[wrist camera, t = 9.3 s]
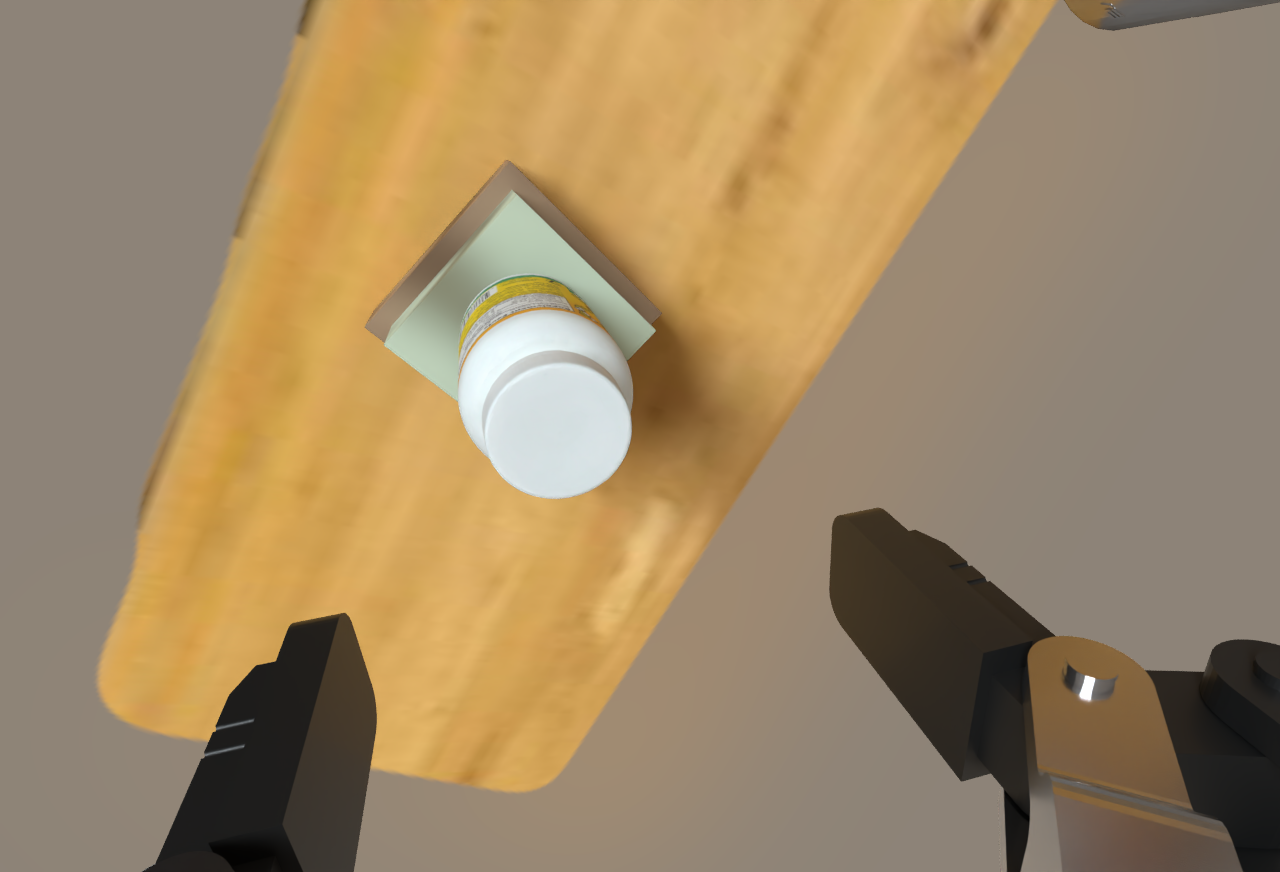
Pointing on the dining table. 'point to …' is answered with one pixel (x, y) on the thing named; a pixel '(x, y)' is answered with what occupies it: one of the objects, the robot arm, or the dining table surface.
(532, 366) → the supplement bottle
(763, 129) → the dining table surface
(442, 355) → the stepped square pedestal
